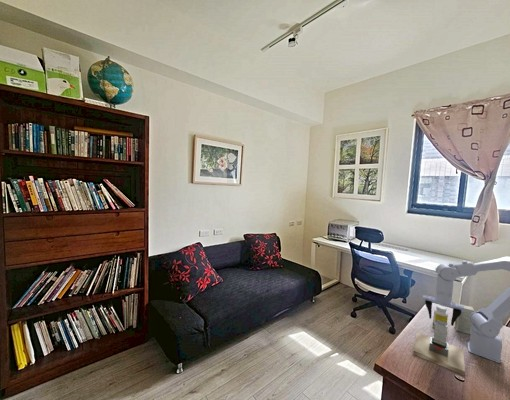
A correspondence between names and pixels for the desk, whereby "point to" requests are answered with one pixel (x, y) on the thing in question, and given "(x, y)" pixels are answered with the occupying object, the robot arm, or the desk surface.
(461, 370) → the stand base
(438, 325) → the column
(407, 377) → the desk surface
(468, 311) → the skincare box
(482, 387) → the desk surface
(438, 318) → the supplement bottle
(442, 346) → the sleeve
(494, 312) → the robot arm
